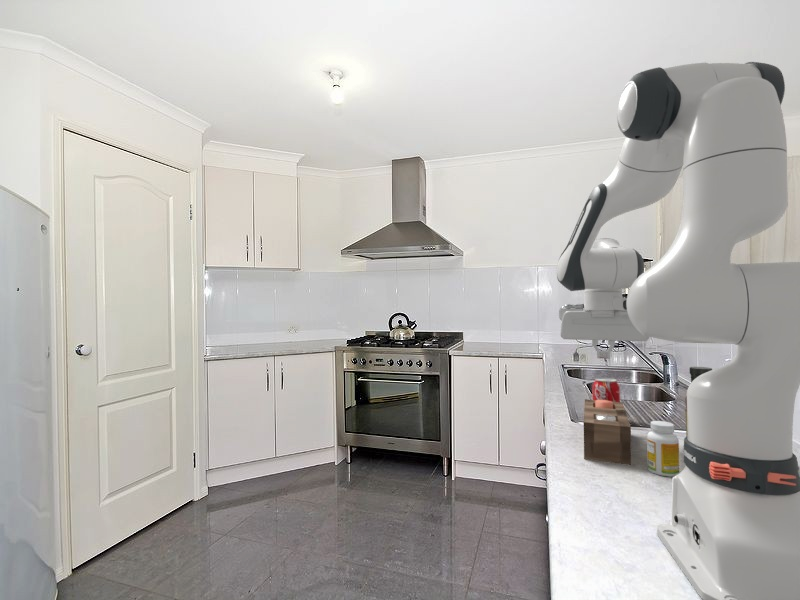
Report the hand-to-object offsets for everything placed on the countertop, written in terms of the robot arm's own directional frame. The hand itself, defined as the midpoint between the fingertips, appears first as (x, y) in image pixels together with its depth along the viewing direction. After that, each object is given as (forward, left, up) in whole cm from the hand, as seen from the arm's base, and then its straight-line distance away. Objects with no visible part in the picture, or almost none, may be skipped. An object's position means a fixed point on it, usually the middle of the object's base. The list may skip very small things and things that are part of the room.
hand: (603, 358), depth 104 cm
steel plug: (-12, 0, -19) cm, 22 cm away
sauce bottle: (-8, -19, -20) cm, 29 cm away
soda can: (+17, -1, -20) cm, 27 cm away
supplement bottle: (-19, -10, -20) cm, 29 cm away
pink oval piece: (0, 0, -18) cm, 18 cm away
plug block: (-6, 0, -20) cm, 21 cm away
